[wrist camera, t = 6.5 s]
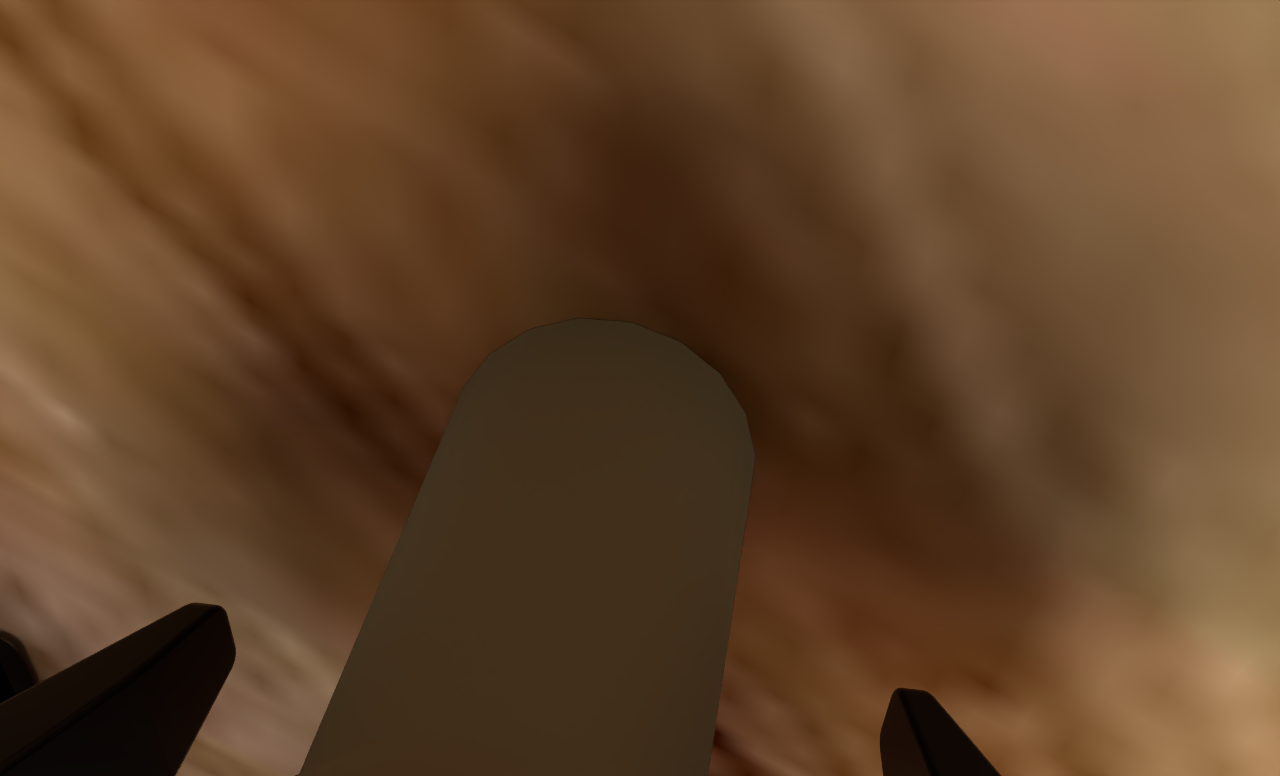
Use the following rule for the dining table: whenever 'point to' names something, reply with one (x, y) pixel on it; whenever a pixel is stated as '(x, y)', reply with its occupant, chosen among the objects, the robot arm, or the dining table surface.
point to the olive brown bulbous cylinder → (558, 572)
